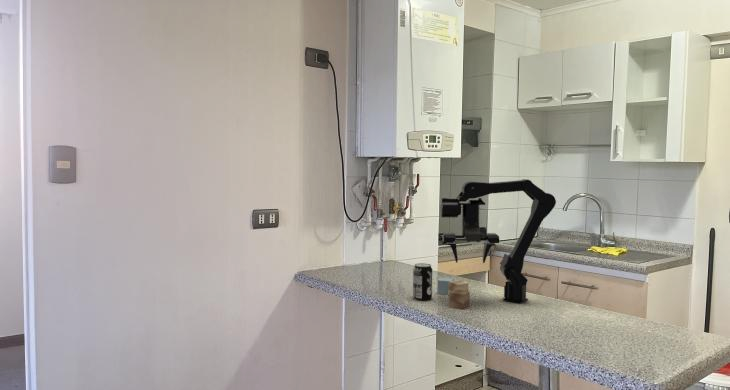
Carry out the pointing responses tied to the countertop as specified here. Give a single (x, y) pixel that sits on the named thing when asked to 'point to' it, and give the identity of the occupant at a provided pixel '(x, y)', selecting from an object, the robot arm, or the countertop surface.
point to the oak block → (457, 286)
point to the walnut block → (459, 299)
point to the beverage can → (422, 281)
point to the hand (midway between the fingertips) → (470, 262)
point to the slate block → (443, 285)
